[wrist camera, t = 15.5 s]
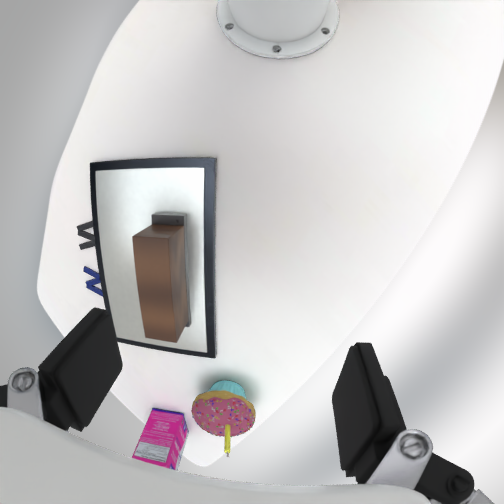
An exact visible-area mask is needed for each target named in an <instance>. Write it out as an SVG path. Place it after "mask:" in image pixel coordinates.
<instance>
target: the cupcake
mask: <svg viewBox="0 0 504 504" xmlns="http://www.w3.org/2000/svg"><path fill="white" fill-rule="evenodd" d="M191 411H192V415H193V418H194V419H195V422H197V424H198V425H199V426H200V427H201V428H202V429H203V430H205V431H207V432H208V433H211V434H212V435H213V434H214V435H216V436H225V450H224V452H225V453H227V457H229V453H230V437H232V436H236V435H237V436H238V435H240V434H243V433H245V432H246V431H248V430H250V428H252V427H253V424H254V421H255V409H254V406H253V404H252V403H250V402H249V401H247V399H246V396H245V392H244V389H243V388H242V387H241V386H240V385H239V384H237V383H235V382H233V381H228V380H223V381H218V382H216V383H215V384H213V386H212V387H211V388H210V390H209V391H207V392H205V393H203V394H200V395H198V396H197V397H196V399H195V400H194V402H193V405H192V410H191Z"/></svg>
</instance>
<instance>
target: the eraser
mask: <svg viewBox="0 0 504 504" xmlns="http://www.w3.org/2000/svg"><path fill="white" fill-rule="evenodd" d="M151 218H152V225H150V226H148V227H147V228H145V229H143V230H142V231H140V232H138V233H137V234H135V235H134V236H132V242H133V253H134V263H135V272H136V280H137V288H138V296H139V303H140V309H141V316H142V322H143V328H144V333H145V338H149V339H155V340H161V341H167V342H173V343H177V342H178V340H179V338H180V336H181V334H182V332H183V330H184V328H185V327H190V325H191V311H190V295H189V276H188V249H187V214H177V213H154V214H152V215H151Z"/></svg>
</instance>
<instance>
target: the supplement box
mask: <svg viewBox="0 0 504 504" xmlns="http://www.w3.org/2000/svg"><path fill="white" fill-rule="evenodd" d="M188 432H189V431H188V429H187V426H186V423H185V419H184V414H183V413H178V412H172V411H166V410H161V409H156V408H153V409H152V411H151V414H150V416H149V418H148V420H147V423H146V425H145V428H144V430H143V432H142V435H141V437H140V439H139V442H138V444H137V446H136V449H135V451H134V454H133V456H132V458H134V459H137V460H141V461H144V462H147V463H151V464H154V465H158V466H161V467H165V468H169V469H173V470H177V471H178V467H179V464H180V460H181V456H182V453H183V450H184V446H185V443H186V439H187V436H188Z"/></svg>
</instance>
